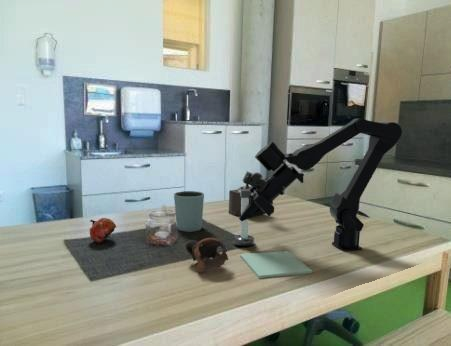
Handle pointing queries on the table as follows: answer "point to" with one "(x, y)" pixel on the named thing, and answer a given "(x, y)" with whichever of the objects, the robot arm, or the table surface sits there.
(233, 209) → the pepper mill
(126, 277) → the table surface
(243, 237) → the square pillar on disc
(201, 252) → the pottery mug
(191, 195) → the green cup
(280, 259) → the rest mat
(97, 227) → the red ribbed fruit
